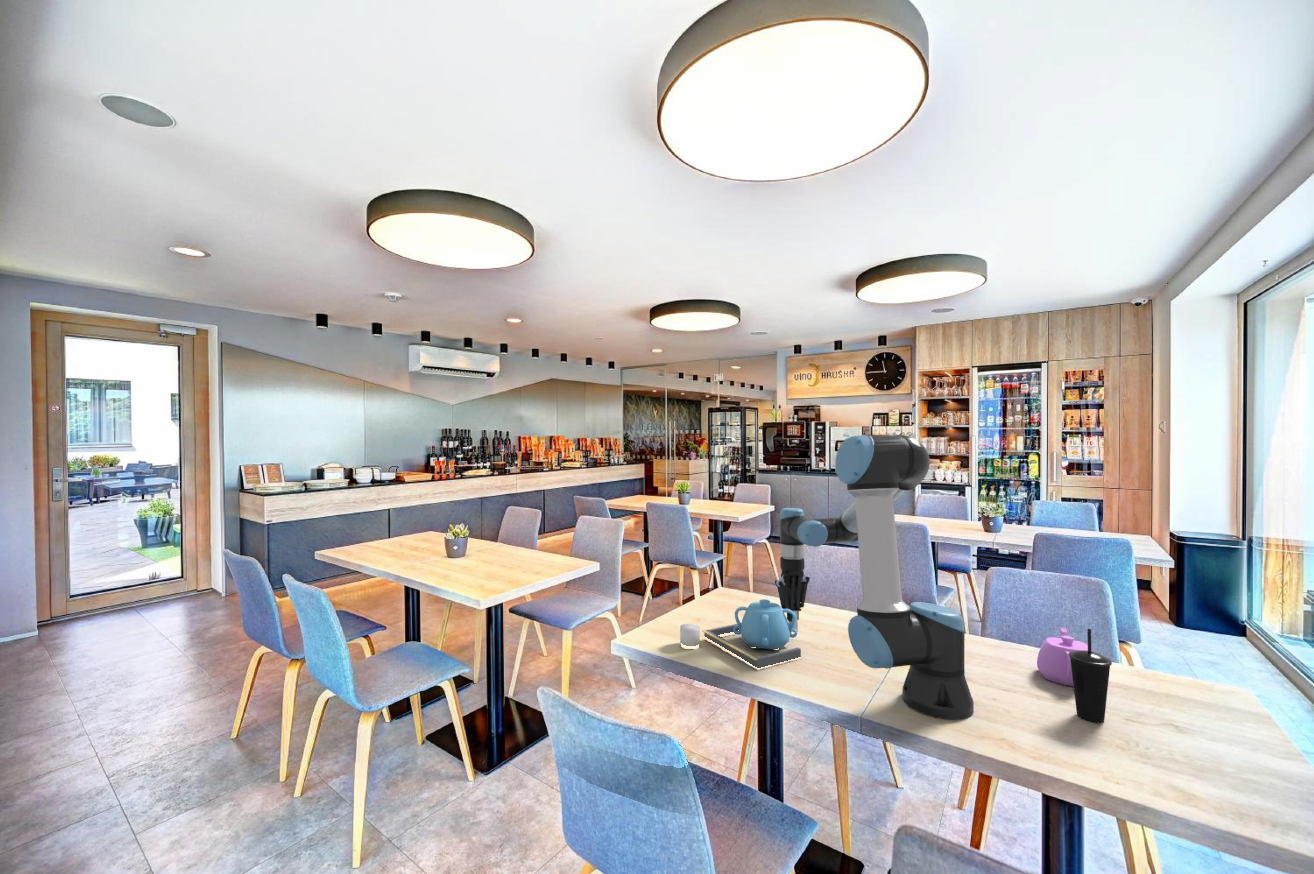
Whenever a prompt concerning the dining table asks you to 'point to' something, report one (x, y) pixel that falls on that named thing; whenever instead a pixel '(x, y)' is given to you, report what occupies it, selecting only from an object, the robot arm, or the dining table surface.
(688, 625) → the white rounded cylinder
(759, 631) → the decorative pot
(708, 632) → the grey piece
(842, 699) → the dining table surface
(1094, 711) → the drinking cup
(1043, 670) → the teapot
